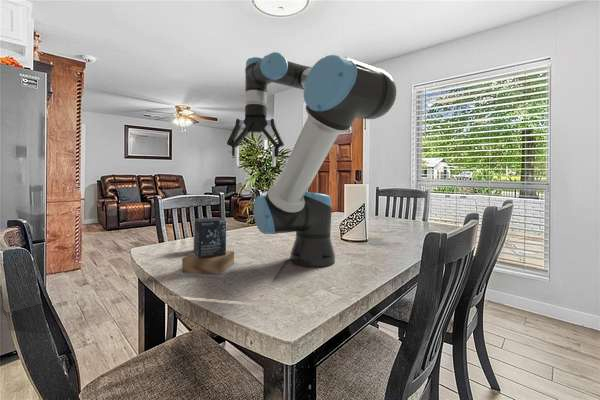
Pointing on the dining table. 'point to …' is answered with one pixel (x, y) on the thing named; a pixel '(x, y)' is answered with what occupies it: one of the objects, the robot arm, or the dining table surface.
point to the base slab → (207, 264)
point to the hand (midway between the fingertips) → (255, 166)
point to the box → (210, 237)
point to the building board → (209, 274)
